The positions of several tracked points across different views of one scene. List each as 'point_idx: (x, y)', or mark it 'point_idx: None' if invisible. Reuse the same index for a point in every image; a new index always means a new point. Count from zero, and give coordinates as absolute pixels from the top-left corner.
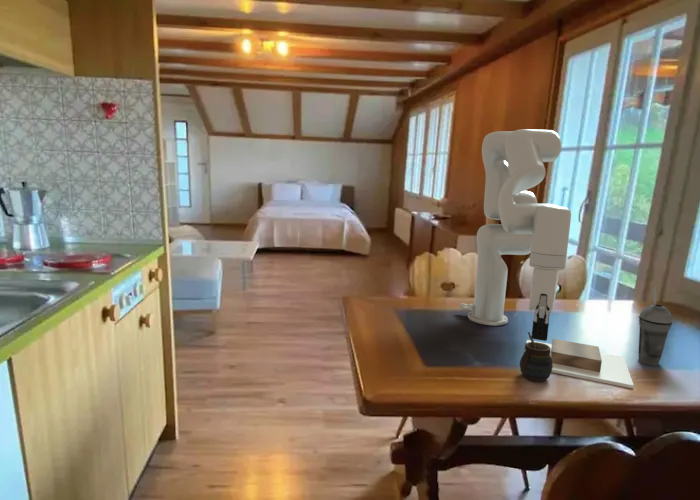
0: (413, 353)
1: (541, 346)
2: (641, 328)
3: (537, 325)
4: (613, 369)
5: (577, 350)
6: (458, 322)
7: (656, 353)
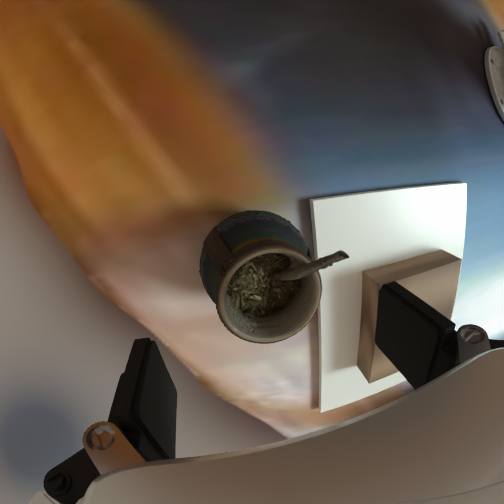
0: None
1: (307, 297)
2: None
3: (111, 422)
4: None
5: None
6: (462, 22)
7: None
